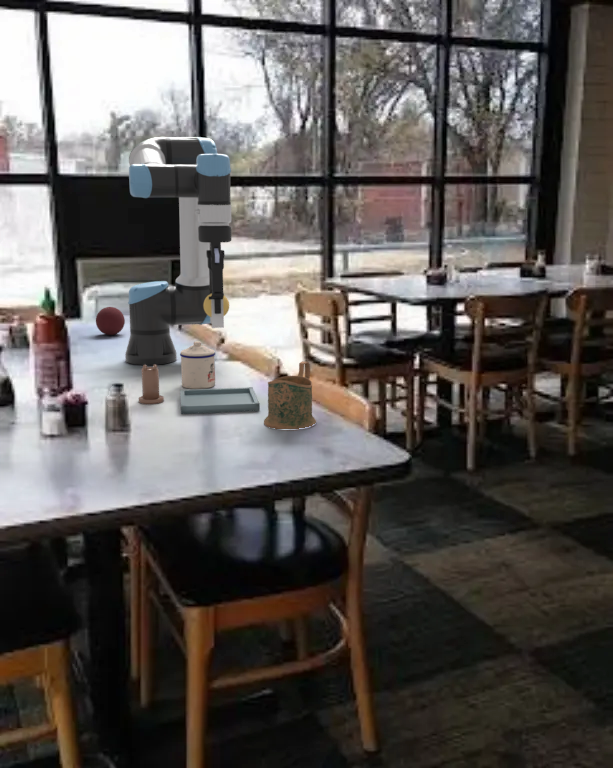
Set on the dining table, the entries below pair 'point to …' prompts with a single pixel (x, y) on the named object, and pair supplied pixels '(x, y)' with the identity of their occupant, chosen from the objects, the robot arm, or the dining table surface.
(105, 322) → the decorative ball
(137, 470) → the dining table surface
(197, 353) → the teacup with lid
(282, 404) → the brown green vessel
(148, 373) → the stand cup
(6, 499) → the dining table surface
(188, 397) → the tray
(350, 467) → the dining table surface
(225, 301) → the ball
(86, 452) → the dining table surface
